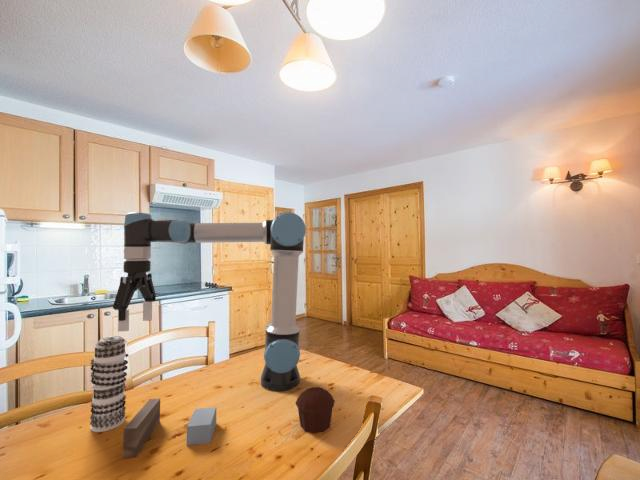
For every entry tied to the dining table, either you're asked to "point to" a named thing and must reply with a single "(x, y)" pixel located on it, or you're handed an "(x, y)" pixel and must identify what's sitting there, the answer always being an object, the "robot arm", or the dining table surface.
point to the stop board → (141, 428)
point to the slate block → (201, 426)
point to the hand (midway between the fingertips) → (136, 325)
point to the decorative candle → (108, 384)
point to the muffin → (315, 409)
